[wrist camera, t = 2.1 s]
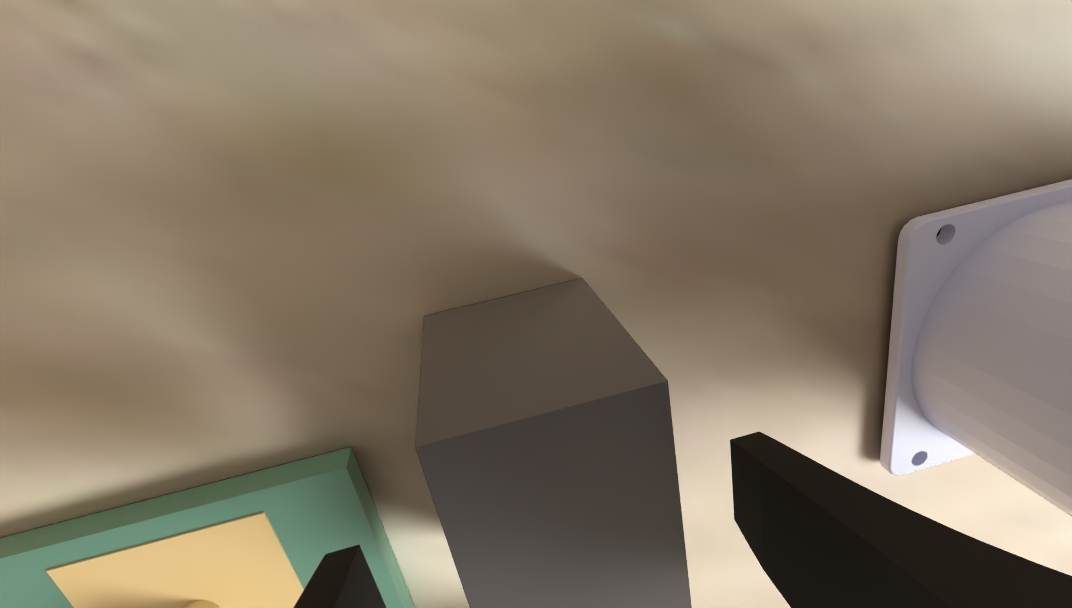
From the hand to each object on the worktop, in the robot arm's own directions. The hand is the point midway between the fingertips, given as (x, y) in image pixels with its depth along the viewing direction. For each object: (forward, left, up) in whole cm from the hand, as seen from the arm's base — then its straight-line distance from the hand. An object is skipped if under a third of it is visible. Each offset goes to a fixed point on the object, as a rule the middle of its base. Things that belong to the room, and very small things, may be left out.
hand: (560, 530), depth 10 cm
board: (+9, +4, -4) cm, 11 cm away
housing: (0, 0, -4) cm, 4 cm away
